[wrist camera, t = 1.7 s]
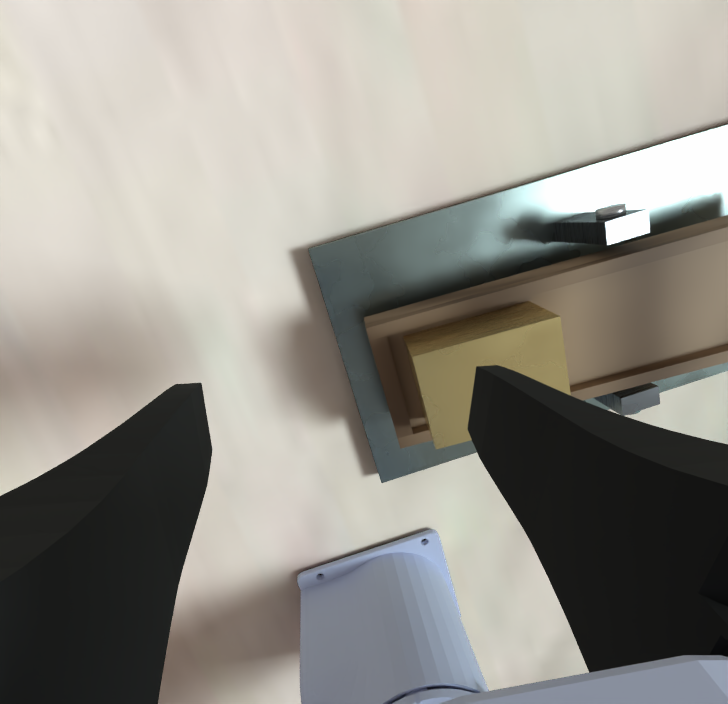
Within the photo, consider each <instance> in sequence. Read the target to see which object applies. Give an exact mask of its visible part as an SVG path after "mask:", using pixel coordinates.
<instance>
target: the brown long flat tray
mask: <svg viewBox="0 0 728 704" xmlns="http://www.w3.org/2000/svg"><path fill="white" fill-rule="evenodd" d="M527 301H530V302H532V303H534V304H536V305H538V306H540V307H542V308H544V309H547V310H549V311H551V312H553V313H555V314H557V315H559V316H560V318H561V325H562V333H563V340H564V348H565V355H566V363H567V370H568V378H569V385H570V393H571V396H573V397H575V398H578V399H580V400H582V401H583V400H587V399H590V398H594V397H598V396H602V395H606V394H609V393H613V392H617V391H621V390H624V389H628V388H632V387H636V386H640V385H643V384H647V383H651V382H655V381H659V380H662V379H666V378H670V377H674V376H677V375H681V374H685V373H689V372H693V371H696V370H700V369H704V368H708V367H712V366H715V365H719V364H723V363H727V362H728V215H726V216H722V217H719V218H715V219H712V220H708V221H705V222H701V223H697V224H694V225H690V226H687V227H683V228H680V229H676V230H673V231H669V232H666V233H662V234H658V235H655V236H651V237H648V238H644V239H641V240H637V241H634V242H630V243H626V244H623V245H619V246H616V247H612V248H609V249H605V250H602V251H598V252H594V253H591V254H587V255H584V256H580V257H577V258H573V259H570V260H566V261H562V262H559V263H555V264H552V265H548V266H545V267H541V268H538V269H534V270H531V271H527V272H523V273H520V274H516V275H513V276H509V277H506V278H502V279H499V280H495V281H491V282H488V283H484V284H481V285H477V286H474V287H470V288H467V289H463V290H459V291H456V292H452V293H449V294H445V295H442V296H438V297H435V298H431V299H428V300H424V301H420V302H417V303H413V304H410V305H406V306H403V307H399V308H396V309H392V310H388V311H385V312H381V313H378V314H374V315H371V316H367V317H364V320H365V327H366V331H367V334H368V338H369V341H370V345H371V348H372V352H373V355H374V359H375V362H376V366H377V369H378V373H379V376H380V380H381V383H382V386H383V390H384V393H385V397H386V400H387V404H388V407H389V411H390V414H391V418H392V421H393V425H394V428H395V432H396V435H397V439H398V442H399V445H400V449H401V448H405V447H409V446H413V445H416V444H420V443H424V442H428V441H431V440H432V438H431V435H430V432H429V430H428V427H427V424H426V422H425V419H424V416H423V412H422V408H421V404H420V400H419V396H418V392H417V389H416V385H415V381H414V377H413V373H412V369H411V366H410V362H409V358H408V354H407V350H406V346H405V343H404V339H403V336H405V335H409V334H412V333H416V332H419V331H423V330H427V329H430V328H434V327H437V326H441V325H445V324H448V323H452V322H455V321H459V320H463V319H466V318H470V317H473V316H477V315H481V314H484V313H488V312H491V311H495V310H499V309H502V308H506V307H509V306H513V305H517V304H520V303H524V302H527Z"/></svg>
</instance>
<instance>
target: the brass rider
mask: <svg viewBox="0 0 728 704" xmlns="http://www.w3.org/2000/svg"><path fill="white" fill-rule="evenodd" d="M403 339H404V343H405V346H406V350H407V354H408V358H409V362H410V366H411V369H412V373H413V377H414V381H415V385H416V389H417V392H418V396H419V400H420V404H421V408H422V412H423V416H424V419H425V422H426V424H427V427H428V430H429V432H430V435H431V438H432V440H433V443H434V446H435V448H436V449H440V448H444V447H448V446H452V445H455V444H459V443H463V442H467V441H471V440H472V439H471V437H470V434H469V432H468V429H467V428H468V421H469V414H470V407H471V400H472V393H473V386H474V379H475V372H476V366H490V365H499V366H502V367H505V368H508V369H511V370H513V371H516V372H518V373H521V374H523V375H525V376H528V377H530V378H532V379H534V380H537V381H539V382H541V383H543V384H546V385H548V386H550V387H552V388H554V389H557V390H559V391H561V392H564V393H566V394H568V395H570V396H571V393H570V385H569V378H568V370H567V363H566V355H565V348H564V340H563V333H562V325H561V318H560V316H559V315H557V314H555V313H553V312H551V311H549V310H547V309H544V308H542V307H540V306H538V305H536V304H534V303H532V302H530V301H527V302H524V303H520V304H517V305H513V306H509V307H506V308H502V309H499V310H495V311H491V312H488V313H484V314H481V315H477V316H473V317H470V318H466V319H463V320H459V321H455V322H452V323H448V324H445V325H441V326H437V327H434V328H430V329H427V330H423V331H419V332H416V333H412V334H409V335H405V336H403Z"/></svg>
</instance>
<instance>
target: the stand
mask: <svg viewBox="0 0 728 704" xmlns="http://www.w3.org/2000/svg"><path fill="white" fill-rule="evenodd" d="M726 215H728V124H725V125H722V126H718V127H715V128H711V129H708V130H705V131H701V132H698V133H695V134H691V135H688V136H685V137H681V138H678V139H675V140H671V141H668V142H664V143H661V144H658V145H654V146H651V147H648V148H644V149H641V150H638V151H634V152H631V153H628V154H624V155H621V156H617V157H614V158H611V159H607V160H604V161H601V162H597V163H594V164H591V165H587V166H584V167H580V168H577V169H574V170H570V171H567V172H564V173H560V174H557V175H554V176H550V177H547V178H544V179H540V180H537V181H533V182H530V183H527V184H523V185H520V186H517V187H513V188H510V189H507V190H503V191H500V192H497V193H493V194H490V195H486V196H483V197H480V198H476V199H473V200H470V201H466V202H463V203H460V204H456V205H453V206H450V207H446V208H443V209H439V210H436V211H433V212H429V213H426V214H423V215H419V216H416V217H413V218H409V219H406V220H403V221H399V222H396V223H392V224H389V225H386V226H382V227H379V228H376V229H372V230H369V231H366V232H362V233H359V234H356V235H352V236H349V237H345V238H342V239H339V240H335V241H332V242H329V243H325V244H322V245H319V246H315V247H312V248H309V249H308V250H309V253H310V257H311V260H312V263H313V266H314V269H315V272H316V276H317V279H318V282H319V285H320V288H321V292H322V295H323V298H324V301H325V304H326V308H327V311H328V314H329V317H330V320H331V323H332V327H333V330H334V333H335V336H336V339H337V343H338V346H339V349H340V352H341V355H342V358H343V362H344V365H345V368H346V371H347V374H348V378H349V381H350V384H351V387H352V390H353V393H354V397H355V400H356V403H357V406H358V409H359V413H360V416H361V419H362V422H363V425H364V428H365V432H366V435H367V438H368V441H369V444H370V448H371V451H372V454H373V457H374V460H375V464H376V467H377V470H378V473H379V476H380V479H381V483H384V482H387V481H390V480H393V479H396V478H399V477H402V476H405V475H408V474H411V473H414V472H417V471H421V470H424V469H427V468H430V467H433V466H436V465H439V464H442V463H445V462H448V461H451V460H454V459H457V458H461V457H464V456H467V455H470V454H473V453H476V452H477V451H476V448H475V446H474V444H473V441H472V440H471V441H467V442H463V443H459V444H455V445H452V446H448V447H444V448H440V449H436V448H435V446H434V443H433V440H431V441H428V442H424V443H420V444H416V445H413V446H409V447H405V448H401V449H400V445H399V442H398V439H397V435H396V432H395V428H394V425H393V421H392V418H391V414H390V411H389V407H388V404H387V400H386V397H385V393H384V390H383V386H382V383H381V380H380V376H379V373H378V369H377V366H376V362H375V359H374V355H373V352H372V348H371V345H370V341H369V338H368V334H367V331H366V327H365V320H364V317H367V316H371V315H374V314H378V313H381V312H385V311H388V310H392V309H396V308H399V307H403V306H406V305H410V304H413V303H417V302H420V301H424V300H428V299H431V298H435V297H438V296H442V295H445V294H449V293H452V292H456V291H459V290H463V289H467V288H470V287H474V286H477V285H481V284H484V283H488V282H491V281H495V280H499V279H502V278H506V277H509V276H513V275H516V274H520V273H523V272H527V271H531V270H534V269H538V268H541V267H545V266H548V265H552V264H555V263H559V262H562V261H566V260H570V259H573V258H577V257H580V256H584V255H587V254H591V253H594V252H598V251H602V250H605V249H609V248H612V247H616V246H619V245H623V244H626V243H630V242H634V241H637V240H641V239H644V238H648V237H651V236H655V235H658V234H662V233H666V232H669V231H673V230H676V229H680V228H683V227H687V226H690V225H694V224H697V223H701V222H705V221H708V220H712V219H715V218H719V217H722V216H726ZM725 371H728V362H727V363H723V364H719V365H715V366H712V367H708V368H704V369H700V370H696V371H693V372H689V373H685V374H681V375H677V376H674V377H670V378H666V379H662V380H659V381H655V382H651V383H647V384H643V385H640V386H636V387H632V388H628V389H624V390H621V391H617V392H613V393H609V394H606V395H602V396H598V397H594V398H590V399H587V400H583V401H585V402H587V403H590V404H593V405H595V406H598V407H600V408H603V409H605V410H608V409H612V410H614V411H615V412H617V413H619V414H620V415H622V416H625V415H631V414H636V413H638V412H640V411H641V410H643V409H646V408H649V407H652V406H655V405H658V404H660V398H659V393H660V392H663V391H667V390H670V389H673V388H676V387H679V386H682V385H685V384H688V383H691V382H694V381H697V380H700V379H703V378H707V377H710V376H713V375H716V374H719V373H722V372H725Z"/></svg>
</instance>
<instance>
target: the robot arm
mask: <svg viewBox="0 0 728 704" xmlns="http://www.w3.org/2000/svg"><path fill="white" fill-rule="evenodd" d="M467 429H468V432H469V434H470V437H471V439H472V441H473V444H474V446H475V448H476V451H477V453H478V455H479V457H480V459H481V461H482V463H483V464H484V466H485V468H486V469H487V471H488V473H489V474H490V476H491V478H492V479H493V481H494V482H495V484H496V486H497V487H498V489H499V490H500V492H501V494H502V495H503V497H504V498H505V500H506V502H507V503H508V505H509V506H510V508H511V510H512V511H513V513H514V514H515V516H516V518H517V519H518V521H519V522H520V524H521V526H522V527H523V529H524V531H525V532H526V534H527V536H528V538H529V540H530V541H531V543H532V545H533V547H534V549H535V551H536V553H537V555H538V557H539V559H540V562H541V564H542V566H543V568H544V570H545V572H546V574H547V576H548V578H549V580H550V582H551V585H552V587H553V589H554V591H555V593H556V596H557V598H558V600H559V602H560V604H561V607H562V609H563V611H564V613H565V615H566V618H567V620H568V622H569V625H570V627H571V629H572V632H573V634H574V637H575V639H576V641H577V644H578V646H579V649H580V651H581V653H582V656H583V658H584V661H585V663H586V665H587V668H588V670H589V673H585V674H580V675H574V676H569V677H563V678H558V679H552V680H547V681H542V682H536V683H531V684H525V685H520V686H514V687H509V688H503V689H498V690H493V691H489V690H488V687H487V685H486V682H485V680H484V677H483V675H482V672H481V670H480V667H479V665H478V662H477V660H476V657H475V654H474V652H473V649H472V647H471V644H470V642H469V639H468V637H467V634H466V632H465V629H464V627H463V624H462V622H461V619H460V617H461V614H460V610H459V607H458V603H457V599H456V596H455V592H454V588H453V585H452V581H451V577H450V574H449V570H448V567H447V563H446V559H445V556H444V552H443V548H442V545H441V541H440V538H439V535H438V533H437V531H436V530H433V529H431V530H427V531H424V532H421V533H418V534H415V535H412V536H409V537H406V538H403V539H400V540H397V541H394V542H391V543H388V544H385V545H382V546H379V547H376V548H373V549H370V550H367V551H364V552H360V553H357V554H354V555H351V556H348V557H345V558H342V559H339V560H336V561H333V562H330V563H327V564H324V565H321V566H318V567H315V568H312V569H309V570H306V571H303V572H301V573H300V574H299V575H298V577H297V583H298V586H299V588H300V590H301V613H300V693H301V704H728V444H723V443H718V442H714V441H709V440H705V439H701V438H697V437H693V436H689V435H685V434H681V433H677V432H674V431H670V430H666V429H663V428H659V427H656V426H653V425H649V424H646V423H643V422H640V421H637V420H634V419H631V418H628V417H625V416H622V415H619V414H616V413H613V412H611V411H608V410H605V409H603V408H600V407H598V406H595V405H593V404H590V403H587V402H585V401H582V400H580V399H578V398H575V397H573V396H570V395H568V394H566V393H564V392H561V391H559V390H557V389H554V388H552V387H550V386H548V385H546V384H543V383H541V382H539V381H537V380H534V379H532V378H530V377H528V376H525V375H523V374H521V373H518V372H516V371H513V370H511V369H508V368H505V367H502V366H499V365H490V366H476V372H475V379H474V386H473V393H472V400H471V407H470V414H469V421H468V428H467ZM211 456H212V445H211V439H210V433H209V427H208V421H207V415H206V409H205V403H204V396H203V390H202V384H201V383H190V384H175V385H174V386H172V387H170V388H169V389H168V390H166V391H165V392H163V393H162V394H161V395H159V396H158V397H157V398H156V399H154V400H153V401H152V402H150V403H149V404H148V405H146V406H145V407H144V408H142V409H141V410H140V411H138V412H137V413H136V414H134V415H133V416H132V417H130V418H129V419H128V420H126V421H125V422H124V423H122V424H121V425H120V426H118V427H117V428H115V429H114V430H112V431H111V432H109V433H108V434H107V435H105V436H104V437H102V438H101V439H99V440H98V441H96V442H95V443H93V444H92V445H90V446H89V447H88V448H86V449H85V450H83V451H81V452H80V453H78V454H77V455H75V456H73V457H72V458H70V459H68V460H67V461H65V462H64V463H62V464H60V465H58V466H57V467H55V468H53V469H51V470H49V471H48V472H46V473H44V474H42V475H41V476H39V477H37V478H35V479H33V480H31V481H30V482H28V483H26V484H24V485H22V486H20V487H18V488H16V489H14V490H11V491H9V492H7V493H5V494H3V495H1V496H0V704H158V698H159V692H160V685H161V679H162V673H163V667H164V661H165V655H166V650H167V644H168V638H169V632H170V627H171V621H172V616H173V611H174V605H175V600H176V595H177V589H178V585H179V581H180V577H181V573H182V569H183V565H184V562H185V559H186V555H187V552H188V549H189V545H190V542H191V539H192V535H193V532H194V529H195V525H196V522H197V518H198V515H199V512H200V508H201V505H202V501H203V498H204V494H205V491H206V487H207V483H208V477H209V470H210V463H211ZM423 539H426V540H425V541H422V540H423ZM320 573H322V575H318V574H320Z"/></svg>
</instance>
